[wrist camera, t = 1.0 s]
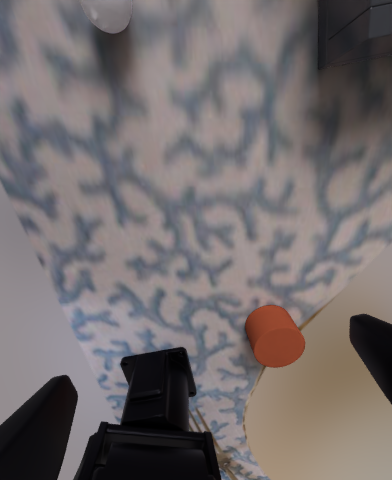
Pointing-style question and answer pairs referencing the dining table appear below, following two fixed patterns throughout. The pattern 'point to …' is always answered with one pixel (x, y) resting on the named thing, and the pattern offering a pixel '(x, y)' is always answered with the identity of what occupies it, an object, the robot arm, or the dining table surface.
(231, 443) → the dining table surface
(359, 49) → the dark grey open box
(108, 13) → the white bumpy ball
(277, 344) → the stopper
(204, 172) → the dining table surface
